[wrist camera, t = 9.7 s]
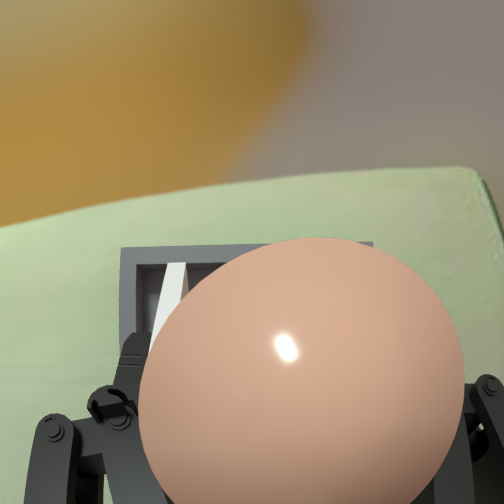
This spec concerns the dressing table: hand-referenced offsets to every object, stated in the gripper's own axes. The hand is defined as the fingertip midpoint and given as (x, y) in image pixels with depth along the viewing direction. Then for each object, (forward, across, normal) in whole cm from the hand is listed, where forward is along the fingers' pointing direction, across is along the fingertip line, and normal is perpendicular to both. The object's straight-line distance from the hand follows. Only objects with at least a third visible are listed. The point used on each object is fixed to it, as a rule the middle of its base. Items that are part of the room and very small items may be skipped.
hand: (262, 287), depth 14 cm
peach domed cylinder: (0, 0, -5) cm, 5 cm away
